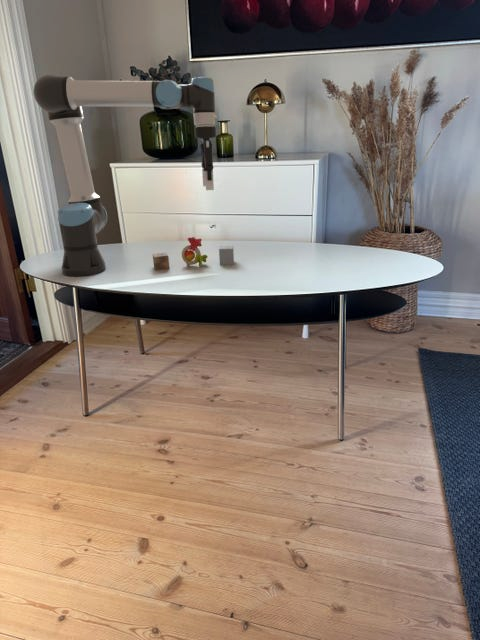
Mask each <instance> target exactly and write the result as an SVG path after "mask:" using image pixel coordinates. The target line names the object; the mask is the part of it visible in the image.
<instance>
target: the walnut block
mask: <svg viewBox="0 0 480 640" xmlns="http://www.w3.org/2000/svg"><path fill="white" fill-rule="evenodd" d="M152 260H153V261H152V262H153V269H154V270H155V271H164V270H170V258H169V254H168V252H161V253H152Z"/></svg>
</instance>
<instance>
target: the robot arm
mask: <svg viewBox="0 0 480 640" xmlns="http://www.w3.org/2000/svg"><path fill="white" fill-rule="evenodd" d="M214 84H215V83H214V80H213V78H212V77H209V76H196V77H192V78H191V83H189V84H178V83H177V82H176V81H174V80H172V79H164V80H94V79H93V80H89V79H88V80H83V79H82V80H77V79H74V78H73V77H72V76H61V75H55V74H45V75H42V76H40V77H39V78H38V79H37V80H36V81H35V83H34V86H33V96H34V99H35V101H36V104H38V106H39V107H40V108H41V109H42V110H44V111H45V112H47V116H48V120H49V122H50V123H51V124H52V125H53V126H54V127H55V129H56V130H55V131H56V134H57V139H58V144H59V147H60V152H61V157H62V162H63V166H64V170H65V173H66V175H65V176H66V179H67V183H68V188H69V191H70V197H69V199H68V201H67V202H68V204H65V205H62V206H61V207H59V208H58V210H57V221H58V223H59V224H58V226H59V229H60V230H59V231H60V236H61V241H62V246H63V256H62V264H61V271H62V274H63V275H64V276H69V277H83V276H90V275H91V276H92V275H96V274H98V273H102V272H105V271H106V269H107V268H106V262H105V259H104V258H103V256H102V254H101V252H100V250H99V247H98V240H97V239H98V238H97V234H98V233H100V232H102V231H103V230H104V228H105V226H106V224H107V221H108V213H107V210H106V208H105V206H103V204H102V201H101V196H100V195H99V194H97V193H96V192H95V186H94V181H93V178H92V173H91V167H90V163H89V158H88V153H87V149H86V144H85V140H84V139H85V137H84V134H83V131H82V125H81V124H82V122H83V120H84V113H83V112H84V111H83V107H132V108H133V107H135V108H136V107H137V108H138V107H141V108H142V107H143V108H144V107H145V108H146V107H147V108H150V107H152V108H153V107H156V108H160V109H162V110H173V109H176V110H177V109H179V110H180V109H193V124H194V125H193V126H195V127H194V137H195V139H201V141H200V143H199V146H200V147H199V148H200V154H201V168H202V186H203V187H205V190H206V191H214V189H215V188H214V185H215V184H214V163H213V143H212V141H211V140H210V139H213V138H214V139H215V138H216V137H217V127H216V126H215V125H216V119H217V118H218V116H217V115H215V114H216V107H215V106H216V105H215V104H216V103H215V102H216V99H215V88H214V87H215V85H214Z"/></svg>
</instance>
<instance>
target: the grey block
mask: <svg viewBox="0 0 480 640" xmlns="http://www.w3.org/2000/svg"><path fill="white" fill-rule="evenodd" d="M234 253H235V252H234V245H219V248H218V255H219V266H232V265H234V264H235V257H234V256H235V255H234Z"/></svg>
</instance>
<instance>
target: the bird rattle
mask: <svg viewBox="0 0 480 640" xmlns="http://www.w3.org/2000/svg"><path fill="white" fill-rule="evenodd" d="M187 242H188V243H189V244H188V245H186V246H185V247H183V248H182V251H181V258H182V261H183V262H184V263H185V265H186V266H187V267H189V266H193V265H196V264H197V263H198V267H199V268H201V267H202V265H203V263H207V259H208V255H207V254H201V251H200V248H198V247H202V238H197V239H196V238H195V237H194V236H192V237H187Z"/></svg>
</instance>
